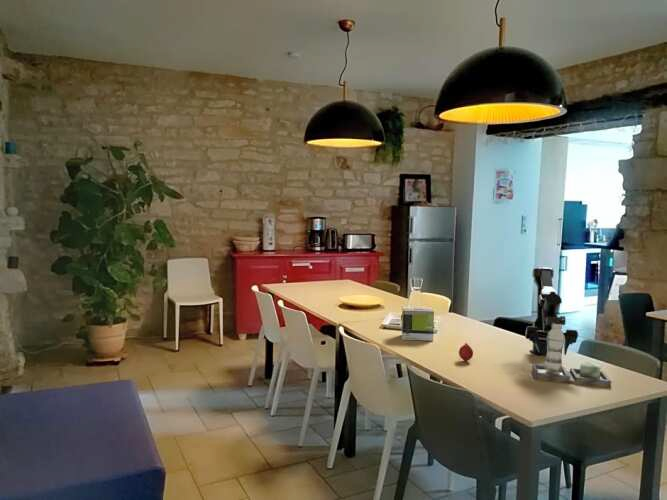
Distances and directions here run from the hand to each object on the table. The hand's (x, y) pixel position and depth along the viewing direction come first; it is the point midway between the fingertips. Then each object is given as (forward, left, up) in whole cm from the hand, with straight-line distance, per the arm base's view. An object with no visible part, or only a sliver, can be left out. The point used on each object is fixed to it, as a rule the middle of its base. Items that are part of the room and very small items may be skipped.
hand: (552, 353), depth 199 cm
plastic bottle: (-1, +1, -9) cm, 9 cm away
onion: (-23, -24, -10) cm, 35 cm away
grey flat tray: (+2, +7, -10) cm, 12 cm away
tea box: (-62, -31, -10) cm, 70 cm away
